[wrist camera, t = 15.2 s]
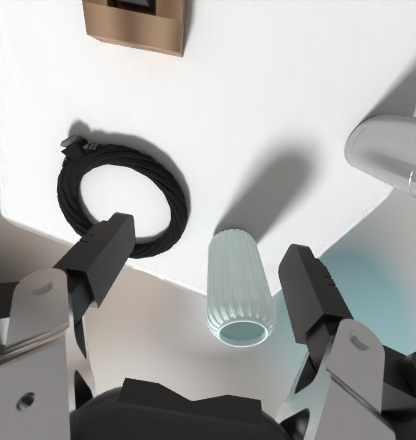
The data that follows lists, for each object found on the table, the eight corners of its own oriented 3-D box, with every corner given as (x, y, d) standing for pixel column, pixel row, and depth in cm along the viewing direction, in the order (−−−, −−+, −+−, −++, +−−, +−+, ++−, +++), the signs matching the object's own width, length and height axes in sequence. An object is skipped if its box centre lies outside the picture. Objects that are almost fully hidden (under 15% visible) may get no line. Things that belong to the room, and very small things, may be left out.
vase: (234, 265, 53) (245, 358, 34) (199, 245, 49) (190, 337, 30) (264, 239, 47) (297, 332, 29) (228, 215, 44) (239, 302, 25)
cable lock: (112, 273, 51) (8, 172, 36) (118, 263, 54) (25, 166, 40) (207, 241, 44) (127, 101, 30) (208, 231, 47) (135, 101, 33)
